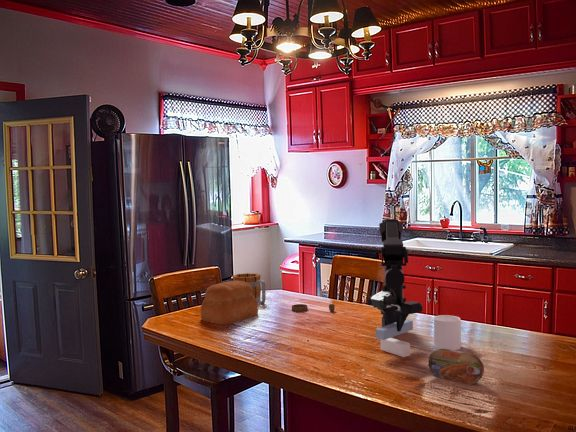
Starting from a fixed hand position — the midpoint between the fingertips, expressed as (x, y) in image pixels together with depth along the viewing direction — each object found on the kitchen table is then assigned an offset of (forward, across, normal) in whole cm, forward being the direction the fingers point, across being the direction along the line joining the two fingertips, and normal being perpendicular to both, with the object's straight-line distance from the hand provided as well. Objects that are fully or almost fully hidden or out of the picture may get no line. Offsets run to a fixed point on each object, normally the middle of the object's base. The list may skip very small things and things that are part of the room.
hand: (394, 330), depth 166 cm
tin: (+9, +26, -3) cm, 27 cm away
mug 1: (+9, -94, +2) cm, 94 cm away
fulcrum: (+8, 0, 0) cm, 8 cm away
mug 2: (+9, +6, +19) cm, 22 cm away
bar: (+1, 0, 0) cm, 1 cm away
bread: (+9, -76, -19) cm, 79 cm away
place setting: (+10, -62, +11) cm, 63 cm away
